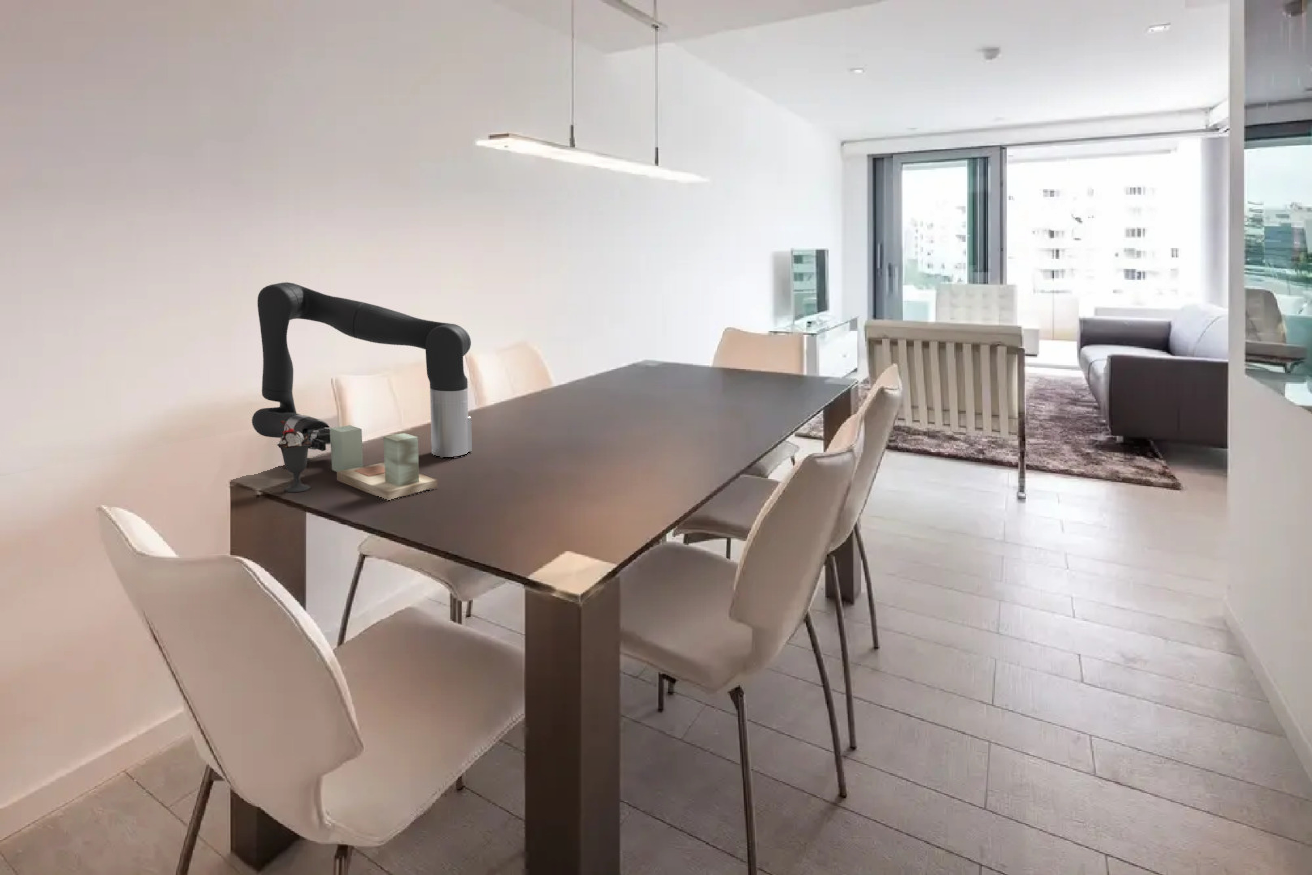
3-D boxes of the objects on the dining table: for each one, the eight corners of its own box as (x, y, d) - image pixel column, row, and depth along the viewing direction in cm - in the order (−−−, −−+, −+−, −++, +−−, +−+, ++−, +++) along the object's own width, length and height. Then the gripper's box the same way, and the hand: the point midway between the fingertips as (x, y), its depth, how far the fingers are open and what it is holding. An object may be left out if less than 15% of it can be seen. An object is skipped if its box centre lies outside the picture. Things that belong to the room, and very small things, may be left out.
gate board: (385, 470, 173) (383, 420, 170) (437, 488, 161) (435, 435, 159) (337, 480, 164) (334, 428, 161) (388, 500, 152) (386, 444, 149)
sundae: (274, 488, 156) (268, 420, 153) (305, 482, 161) (300, 416, 158) (289, 495, 152) (283, 425, 149) (320, 489, 157) (316, 421, 154)
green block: (352, 465, 175) (349, 425, 173) (363, 470, 172) (361, 428, 170) (332, 469, 172) (329, 428, 169) (343, 474, 169) (341, 432, 166)
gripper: (276, 420, 175) (311, 432, 166) (333, 413, 186) (369, 423, 177) (279, 451, 177) (313, 464, 167) (335, 441, 188) (370, 453, 178)
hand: (341, 443), depth 172 cm, fingers open, 8 cm apart
